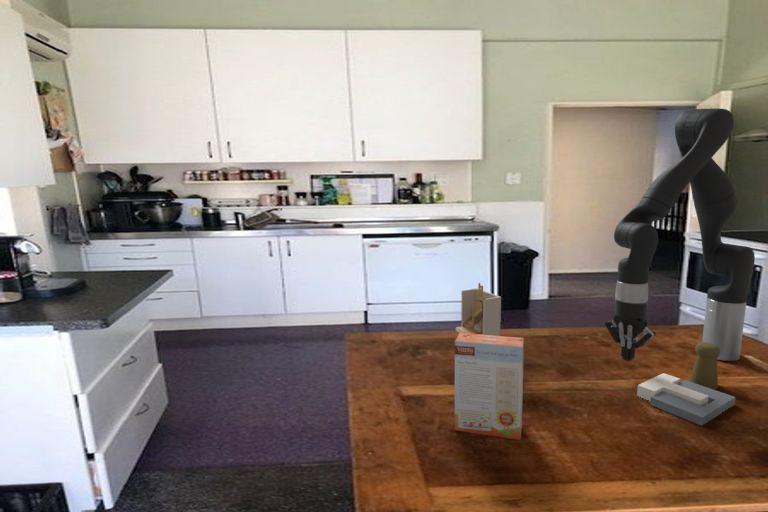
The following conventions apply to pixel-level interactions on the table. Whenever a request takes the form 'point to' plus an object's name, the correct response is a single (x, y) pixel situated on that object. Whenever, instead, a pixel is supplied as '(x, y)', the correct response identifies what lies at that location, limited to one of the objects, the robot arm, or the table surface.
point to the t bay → (691, 410)
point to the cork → (706, 365)
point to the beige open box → (480, 312)
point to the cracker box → (489, 385)
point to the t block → (670, 389)
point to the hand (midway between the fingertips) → (627, 359)
